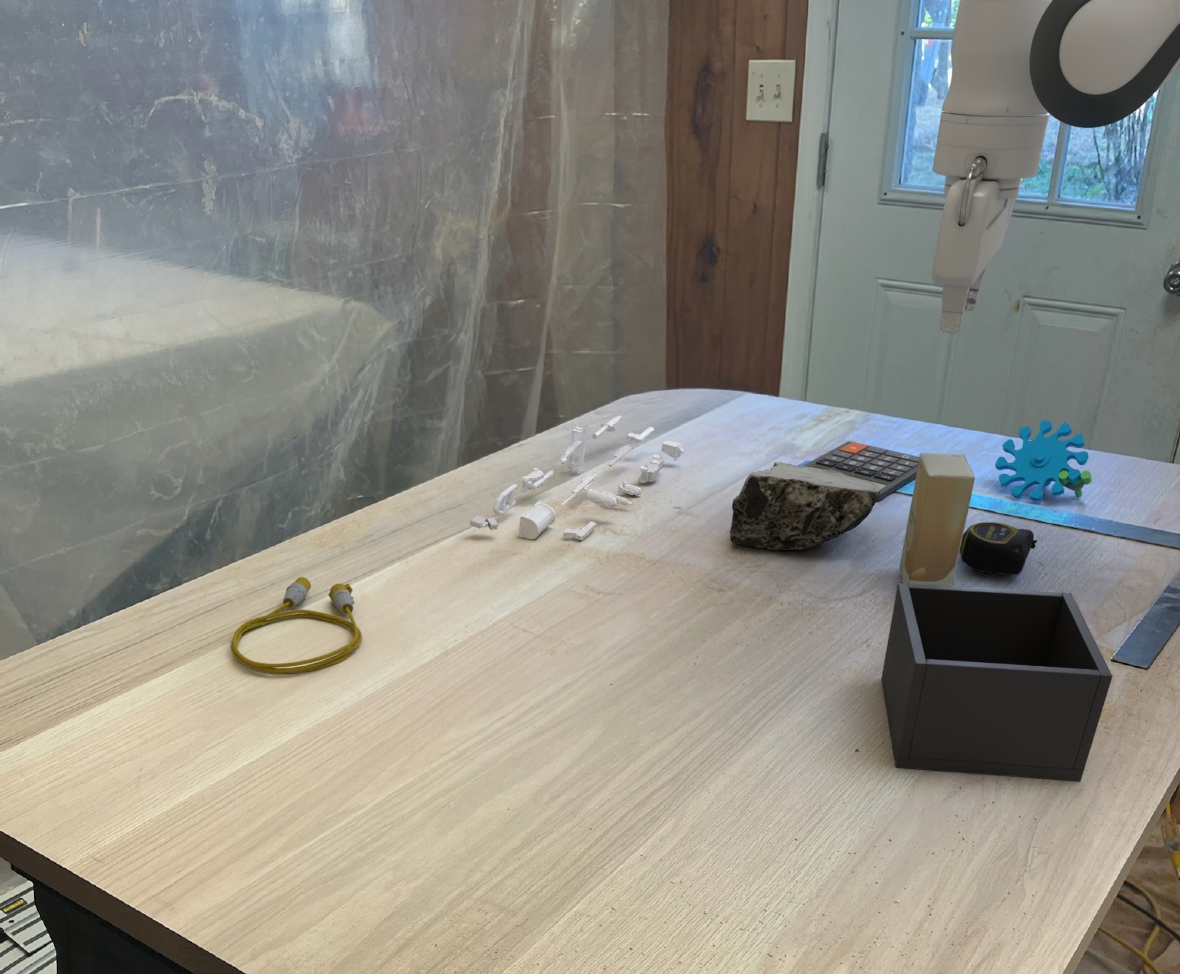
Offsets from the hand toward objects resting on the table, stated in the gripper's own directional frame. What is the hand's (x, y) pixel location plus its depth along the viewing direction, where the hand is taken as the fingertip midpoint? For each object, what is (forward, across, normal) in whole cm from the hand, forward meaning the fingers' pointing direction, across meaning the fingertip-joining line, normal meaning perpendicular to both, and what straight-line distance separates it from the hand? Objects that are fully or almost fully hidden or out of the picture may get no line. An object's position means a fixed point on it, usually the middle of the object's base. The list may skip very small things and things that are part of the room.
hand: (958, 319), depth 107 cm
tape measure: (+23, 0, -8) cm, 25 cm away
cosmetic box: (+23, -8, -2) cm, 25 cm away
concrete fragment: (+23, -1, +12) cm, 26 cm away
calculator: (+23, +21, +10) cm, 33 cm away
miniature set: (+23, +1, +37) cm, 44 cm away
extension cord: (+23, -42, +48) cm, 67 cm away
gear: (+23, +23, -10) cm, 34 cm away
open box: (+23, -33, -10) cm, 42 cm away
